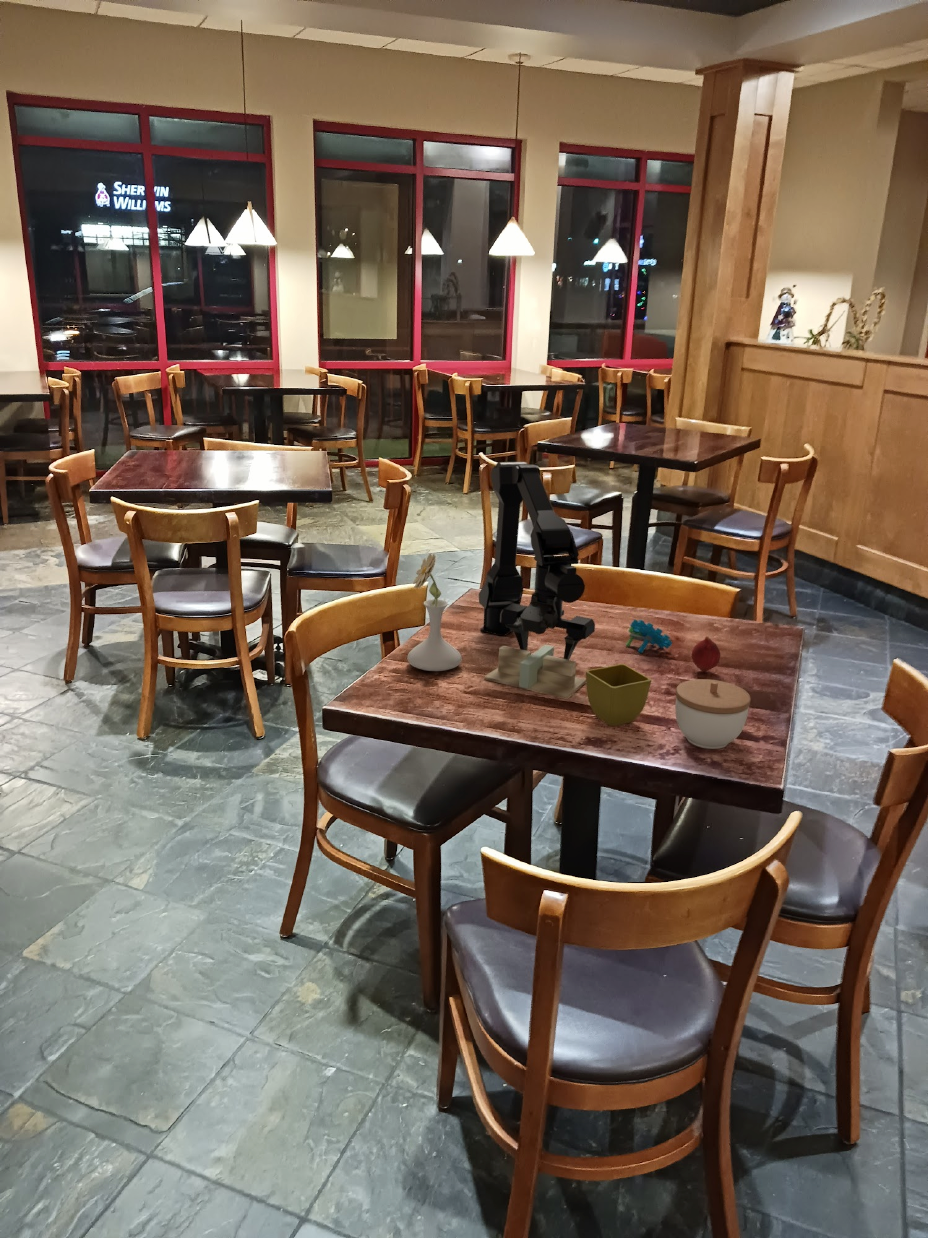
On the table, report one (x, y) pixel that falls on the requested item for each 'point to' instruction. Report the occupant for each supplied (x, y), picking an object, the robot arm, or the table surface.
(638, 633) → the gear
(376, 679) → the table surface
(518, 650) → the maple jig
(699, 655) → the onion
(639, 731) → the table surface
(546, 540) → the robot arm
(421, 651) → the flower in vase
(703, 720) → the lidded bowl
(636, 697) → the flower pot
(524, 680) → the sage board
